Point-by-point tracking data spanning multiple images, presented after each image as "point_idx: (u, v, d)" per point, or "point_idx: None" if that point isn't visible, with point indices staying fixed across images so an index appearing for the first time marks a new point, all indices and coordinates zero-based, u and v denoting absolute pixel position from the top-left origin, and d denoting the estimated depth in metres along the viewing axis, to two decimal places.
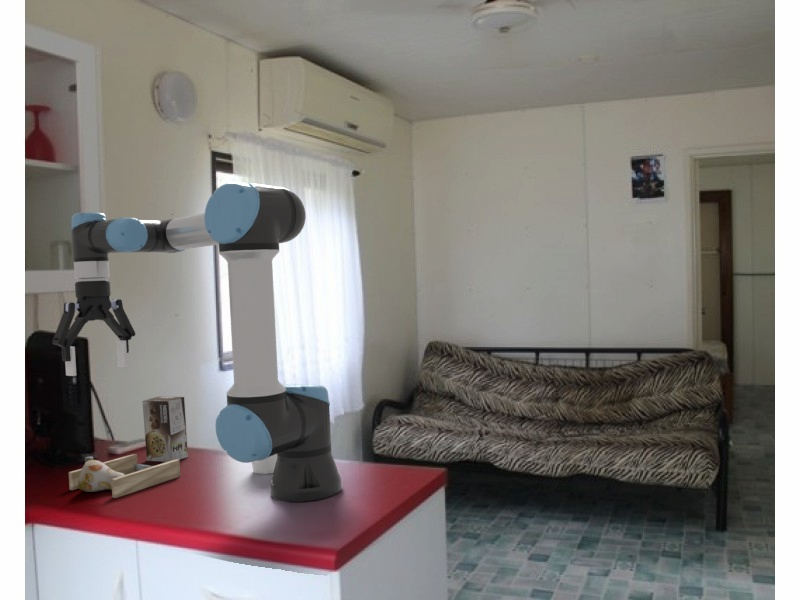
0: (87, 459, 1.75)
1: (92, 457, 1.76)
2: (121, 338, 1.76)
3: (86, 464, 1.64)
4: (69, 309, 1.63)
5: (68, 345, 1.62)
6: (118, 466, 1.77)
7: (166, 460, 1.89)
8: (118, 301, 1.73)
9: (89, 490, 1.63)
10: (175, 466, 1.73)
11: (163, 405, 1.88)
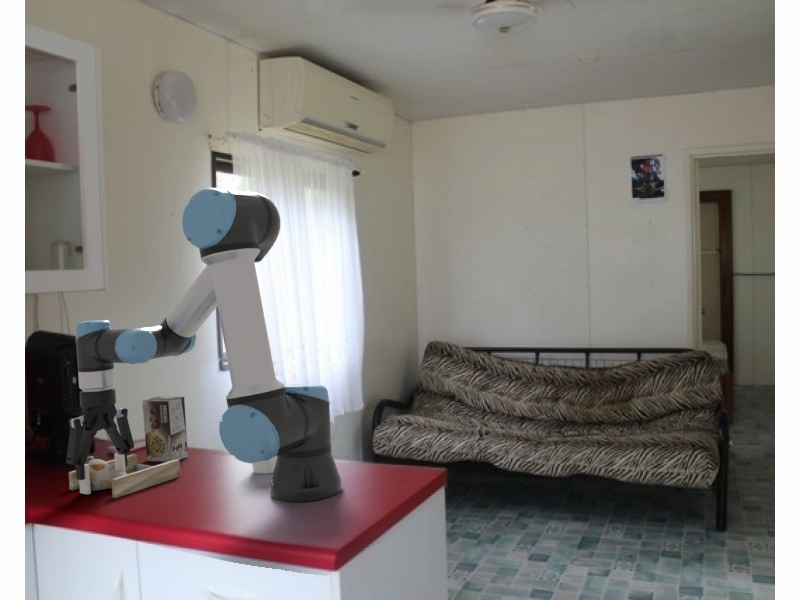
0: (88, 459, 1.76)
1: (93, 457, 1.76)
2: (119, 451, 1.70)
3: (88, 463, 1.64)
4: (75, 426, 1.59)
5: (82, 464, 1.60)
6: None
7: (166, 460, 1.89)
8: (124, 410, 1.70)
9: (92, 489, 1.64)
10: (175, 466, 1.73)
11: (163, 405, 1.88)
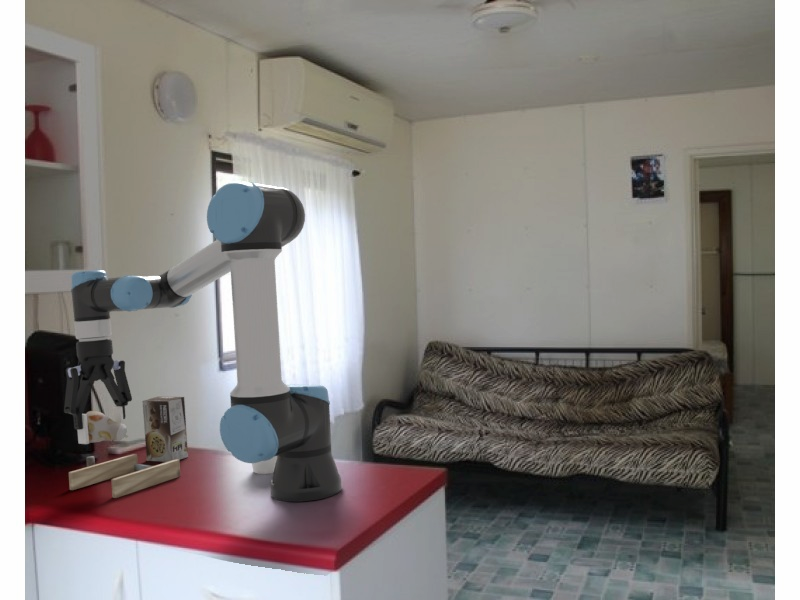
0: (88, 459, 1.76)
1: (93, 457, 1.76)
2: (117, 404, 1.69)
3: None
4: (72, 375, 1.59)
5: (80, 413, 1.60)
6: (118, 466, 1.77)
7: (166, 460, 1.89)
8: (121, 362, 1.69)
9: (90, 440, 1.63)
10: (175, 466, 1.73)
11: (163, 405, 1.88)
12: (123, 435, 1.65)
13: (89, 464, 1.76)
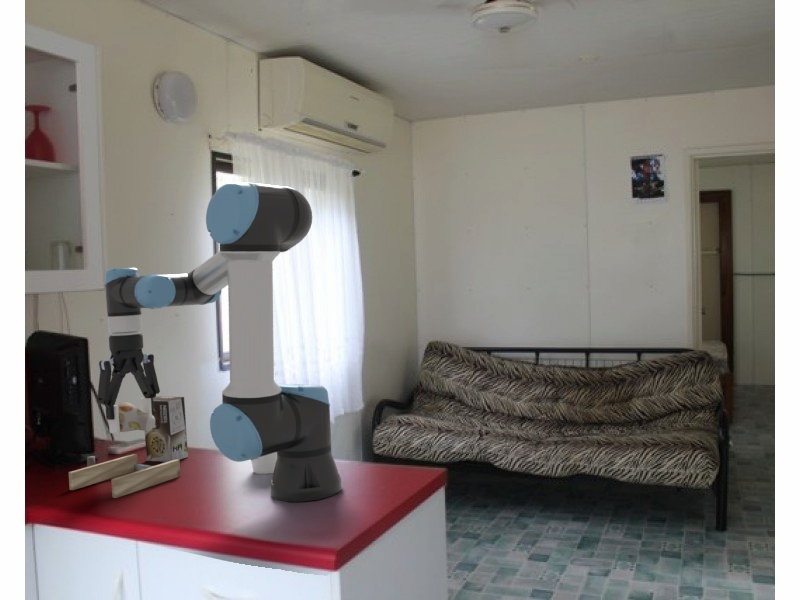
0: (89, 458, 1.76)
1: (94, 456, 1.77)
2: (146, 396, 1.77)
3: None
4: (105, 368, 1.66)
5: (112, 404, 1.67)
6: (118, 466, 1.77)
7: (166, 460, 1.89)
8: (150, 356, 1.76)
9: (120, 430, 1.71)
10: (175, 466, 1.73)
11: (163, 405, 1.88)
12: (152, 426, 1.72)
13: (90, 464, 1.76)
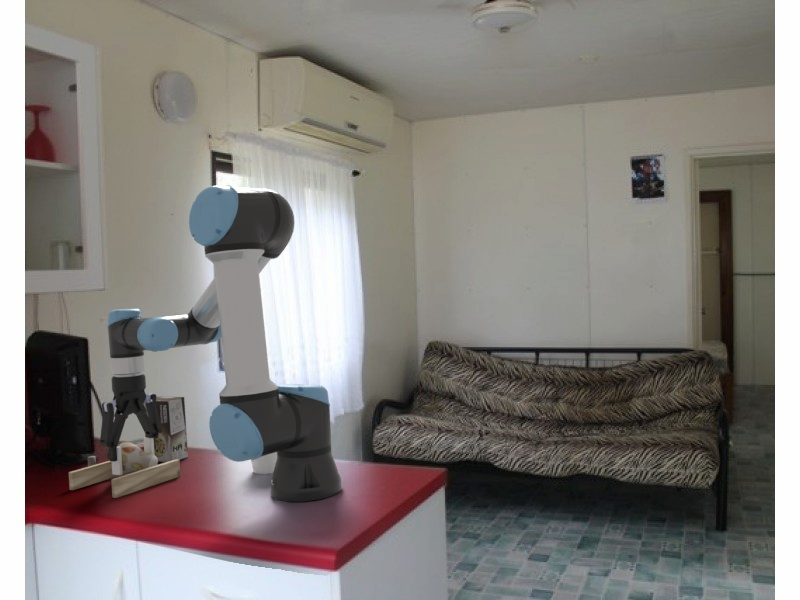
0: (90, 458, 1.76)
1: (95, 456, 1.77)
2: (148, 435, 1.77)
3: (120, 446, 1.71)
4: (108, 410, 1.66)
5: (115, 446, 1.67)
6: None
7: (166, 460, 1.89)
8: (153, 395, 1.77)
9: (123, 471, 1.71)
10: (175, 466, 1.73)
11: (163, 405, 1.88)
12: None
13: (90, 464, 1.76)
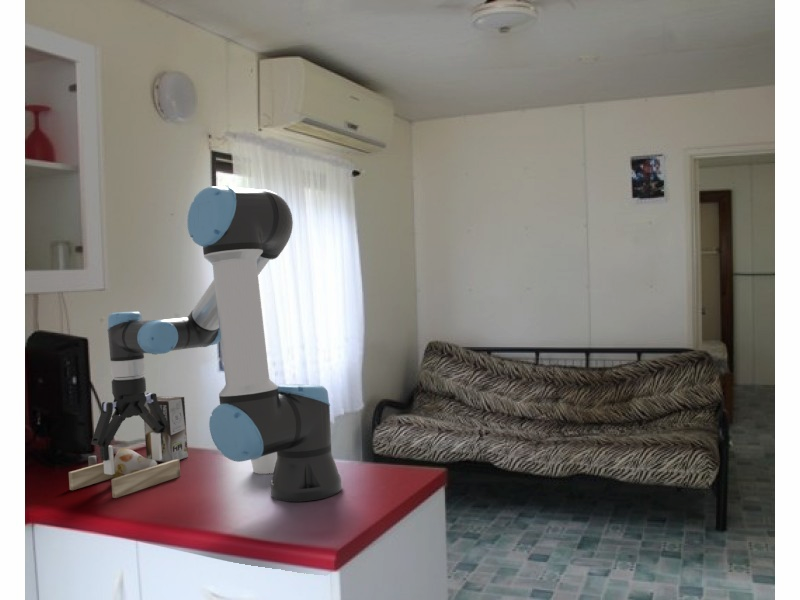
0: (90, 458, 1.76)
1: (95, 456, 1.77)
2: (155, 430, 1.79)
3: (116, 455, 1.70)
4: (107, 409, 1.66)
5: (106, 445, 1.65)
6: None
7: (166, 460, 1.89)
8: (153, 395, 1.77)
9: None
10: (175, 466, 1.73)
11: (163, 405, 1.88)
12: None
13: (91, 463, 1.76)
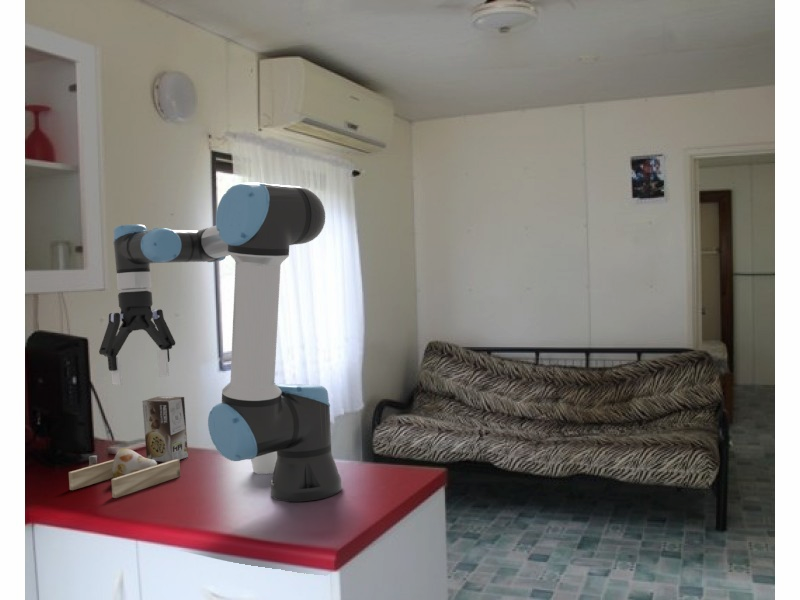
0: (91, 458, 1.76)
1: (96, 456, 1.77)
2: (162, 347, 1.79)
3: (117, 455, 1.70)
4: (114, 319, 1.66)
5: (114, 354, 1.65)
6: None
7: (166, 460, 1.89)
8: (159, 311, 1.77)
9: None
10: (175, 466, 1.73)
11: (163, 405, 1.88)
12: None
13: (91, 463, 1.76)
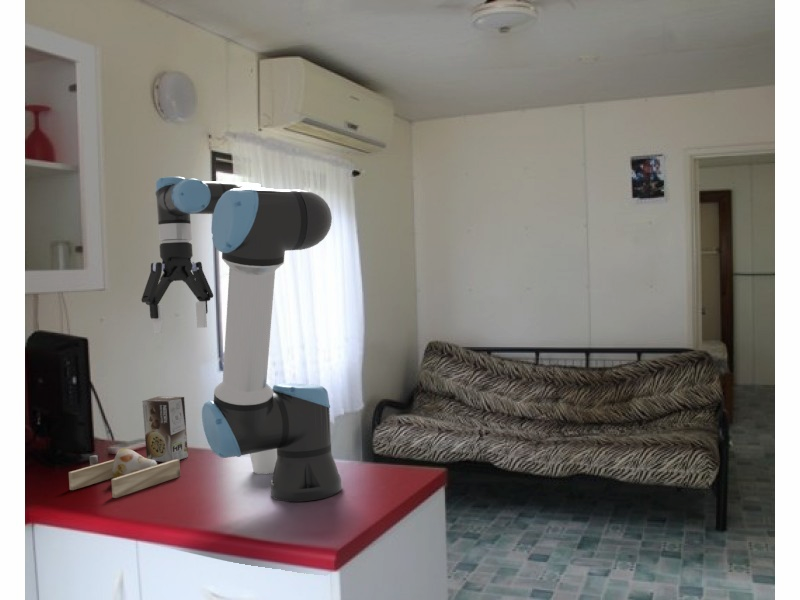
0: (92, 458, 1.76)
1: (97, 456, 1.77)
2: (200, 299, 1.83)
3: (117, 455, 1.70)
4: (157, 268, 1.70)
5: (156, 303, 1.70)
6: None
7: (166, 460, 1.89)
8: (198, 263, 1.81)
9: None
10: (175, 466, 1.73)
11: (163, 405, 1.88)
12: None
13: (92, 463, 1.76)
